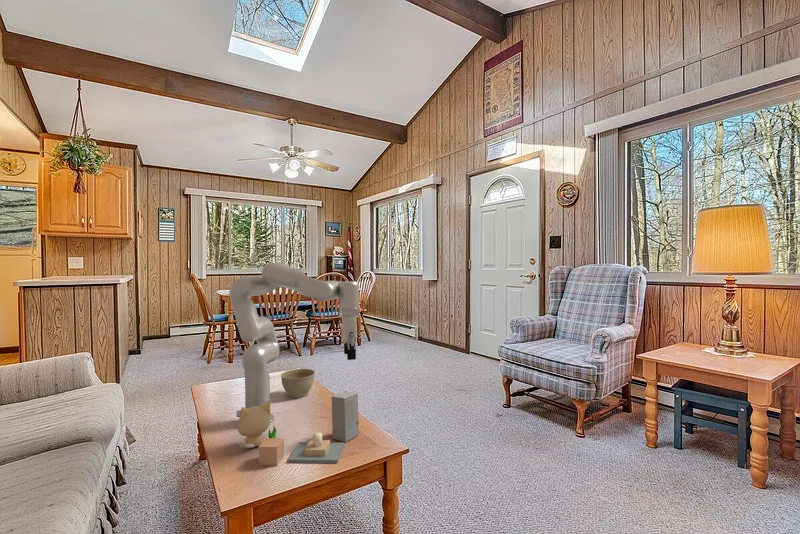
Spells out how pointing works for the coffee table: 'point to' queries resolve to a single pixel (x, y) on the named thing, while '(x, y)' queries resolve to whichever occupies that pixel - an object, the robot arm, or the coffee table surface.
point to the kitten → (255, 425)
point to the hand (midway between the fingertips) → (349, 356)
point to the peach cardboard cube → (271, 451)
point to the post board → (317, 459)
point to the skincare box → (345, 416)
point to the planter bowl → (298, 382)
